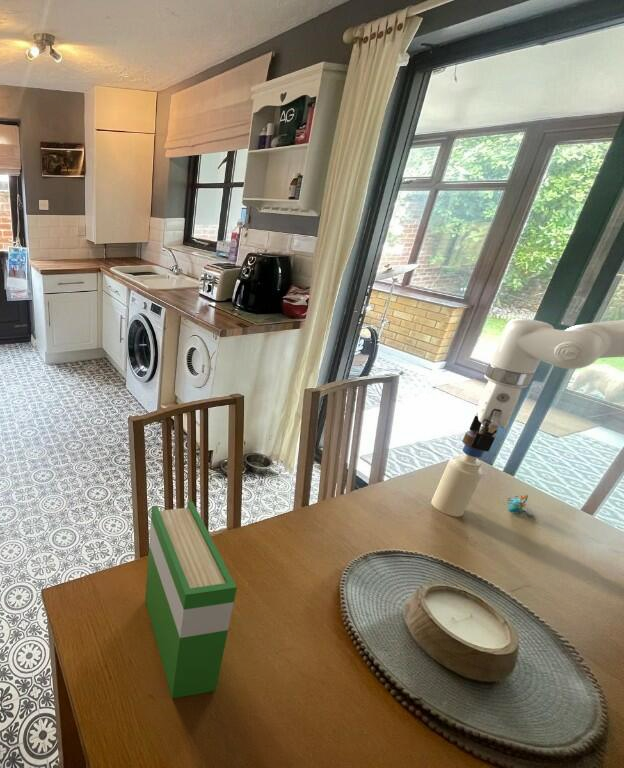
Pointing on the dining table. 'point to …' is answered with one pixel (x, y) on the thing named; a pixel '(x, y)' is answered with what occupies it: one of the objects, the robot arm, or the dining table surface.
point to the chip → (469, 437)
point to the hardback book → (187, 600)
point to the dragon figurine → (518, 505)
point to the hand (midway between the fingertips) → (478, 440)
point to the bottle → (458, 482)
